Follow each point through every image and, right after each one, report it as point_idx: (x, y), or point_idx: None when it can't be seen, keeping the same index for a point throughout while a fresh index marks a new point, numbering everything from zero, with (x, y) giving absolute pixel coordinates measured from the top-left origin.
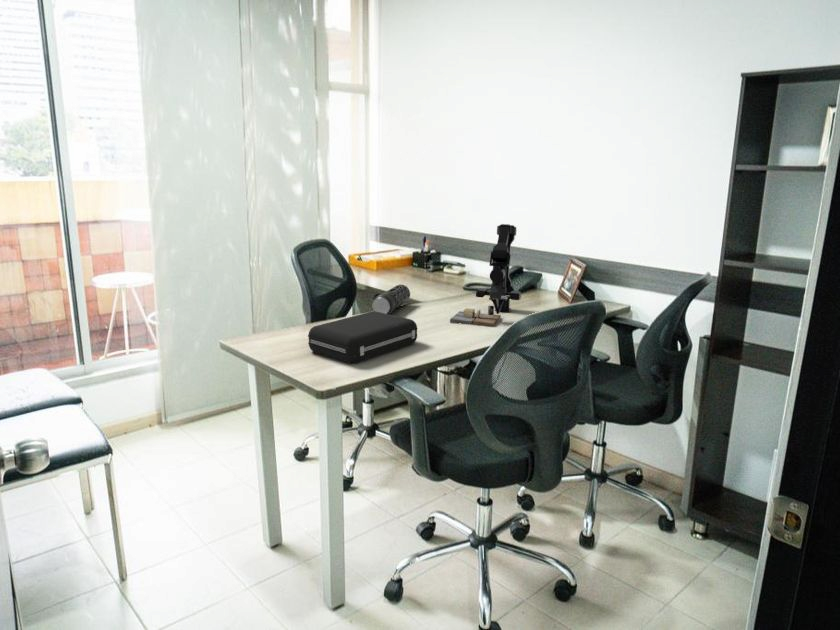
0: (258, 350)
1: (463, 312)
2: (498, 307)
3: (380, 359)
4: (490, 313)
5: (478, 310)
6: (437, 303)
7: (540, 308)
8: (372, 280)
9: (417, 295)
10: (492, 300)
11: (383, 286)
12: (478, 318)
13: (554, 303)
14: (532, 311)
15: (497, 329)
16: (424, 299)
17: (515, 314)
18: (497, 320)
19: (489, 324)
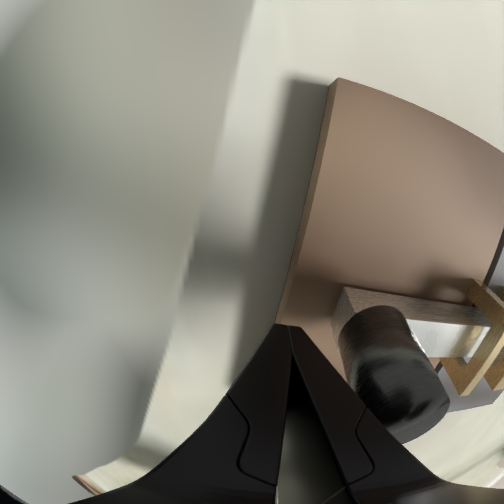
0: None
1: (488, 393)
2: (278, 392)
3: None
4: (392, 317)
5: (491, 361)
6: (473, 459)
7: (113, 471)
8: (488, 486)
9: (476, 476)
10: (493, 500)
11: (494, 477)
12: (468, 282)
13: (103, 484)
14: (120, 458)
15: (269, 3)
16: (481, 465)
17: (173, 444)
18: (281, 306)
19: (376, 93)
